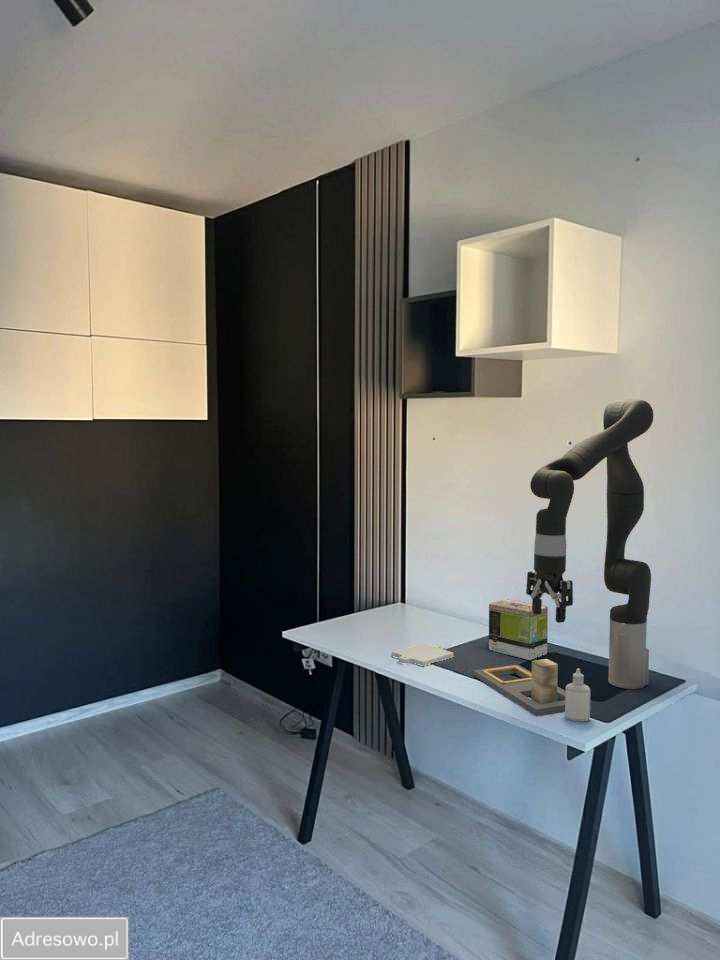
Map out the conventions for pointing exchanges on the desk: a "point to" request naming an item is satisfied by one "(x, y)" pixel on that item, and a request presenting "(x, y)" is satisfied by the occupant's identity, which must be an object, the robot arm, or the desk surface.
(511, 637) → the tea box
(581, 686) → the eye dropper bottle
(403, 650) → the mounting plate
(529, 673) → the dock
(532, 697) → the plug
